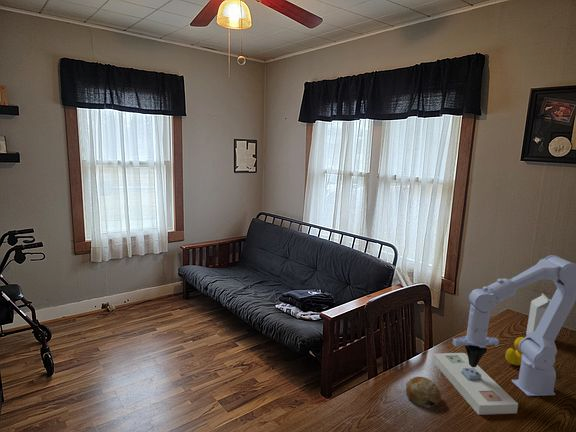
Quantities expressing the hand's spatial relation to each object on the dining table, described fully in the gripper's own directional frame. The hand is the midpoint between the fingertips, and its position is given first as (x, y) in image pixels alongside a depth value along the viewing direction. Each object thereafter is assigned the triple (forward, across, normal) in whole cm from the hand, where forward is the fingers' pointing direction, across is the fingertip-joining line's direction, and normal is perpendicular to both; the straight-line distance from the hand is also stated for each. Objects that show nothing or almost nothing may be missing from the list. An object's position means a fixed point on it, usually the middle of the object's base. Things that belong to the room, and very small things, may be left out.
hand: (472, 365), depth 122 cm
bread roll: (+7, -19, -5) cm, 21 cm away
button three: (+5, 0, 0) cm, 5 cm away
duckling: (+7, +25, +11) cm, 28 cm away
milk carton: (+7, +47, +28) cm, 55 cm away
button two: (+6, 0, +10) cm, 12 cm away
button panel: (+7, 0, 0) cm, 7 cm away
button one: (+6, 0, -10) cm, 12 cm away
